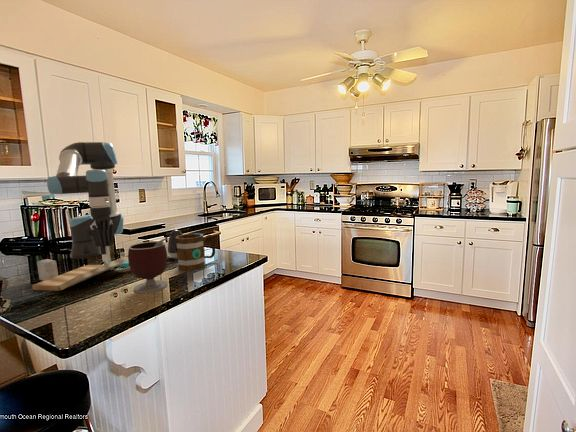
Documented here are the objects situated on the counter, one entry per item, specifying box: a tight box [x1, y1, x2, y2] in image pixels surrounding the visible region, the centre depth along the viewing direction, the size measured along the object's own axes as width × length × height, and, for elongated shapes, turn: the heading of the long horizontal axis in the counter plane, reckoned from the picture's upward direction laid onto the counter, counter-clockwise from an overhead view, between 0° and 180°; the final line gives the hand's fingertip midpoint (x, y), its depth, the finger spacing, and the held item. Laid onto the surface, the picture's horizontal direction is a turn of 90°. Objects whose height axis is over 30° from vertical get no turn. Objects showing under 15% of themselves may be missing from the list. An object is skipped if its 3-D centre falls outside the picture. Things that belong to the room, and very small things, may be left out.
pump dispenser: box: [165, 229, 184, 259], centre depth 167 cm, size 10×10×15 cm
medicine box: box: [36, 258, 59, 282], centre depth 137 cm, size 8×4×9 cm, turn 59°
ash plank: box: [59, 255, 128, 291], centre depth 135 cm, size 28×12×2 cm, turn 171°
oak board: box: [31, 264, 103, 292], centre depth 138 cm, size 28×12×2 cm, turn 171°
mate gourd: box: [127, 237, 169, 294], centre depth 122 cm, size 16×14×20 cm
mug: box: [176, 233, 216, 272], centre depth 151 cm, size 20×14×15 cm
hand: (106, 261), depth 134 cm, fingers closed
